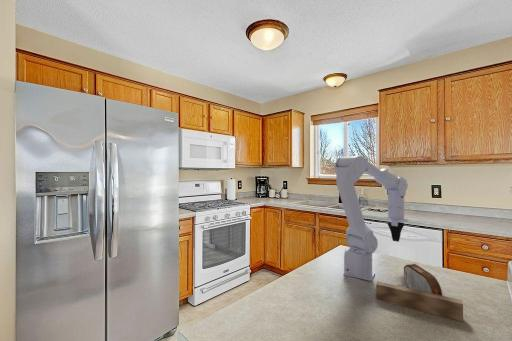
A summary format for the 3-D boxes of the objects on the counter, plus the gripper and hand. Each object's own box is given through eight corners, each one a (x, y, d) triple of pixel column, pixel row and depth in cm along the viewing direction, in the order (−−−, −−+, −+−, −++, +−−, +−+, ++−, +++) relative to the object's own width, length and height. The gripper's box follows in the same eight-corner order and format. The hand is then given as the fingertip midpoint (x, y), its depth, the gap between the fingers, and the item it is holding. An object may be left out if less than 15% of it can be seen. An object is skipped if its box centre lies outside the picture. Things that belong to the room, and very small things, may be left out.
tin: (443, 310, 68) (443, 279, 68) (431, 310, 68) (431, 279, 68) (411, 285, 83) (411, 260, 83) (401, 285, 83) (401, 260, 83)
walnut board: (376, 299, 73) (376, 284, 73) (377, 295, 75) (377, 281, 75) (463, 321, 62) (463, 304, 62) (461, 317, 64) (461, 299, 64)
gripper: (406, 210, 90) (406, 247, 90) (408, 205, 102) (408, 238, 102) (385, 208, 94) (385, 244, 94) (389, 204, 106) (389, 235, 106)
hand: (395, 240), depth 98 cm, fingers closed
